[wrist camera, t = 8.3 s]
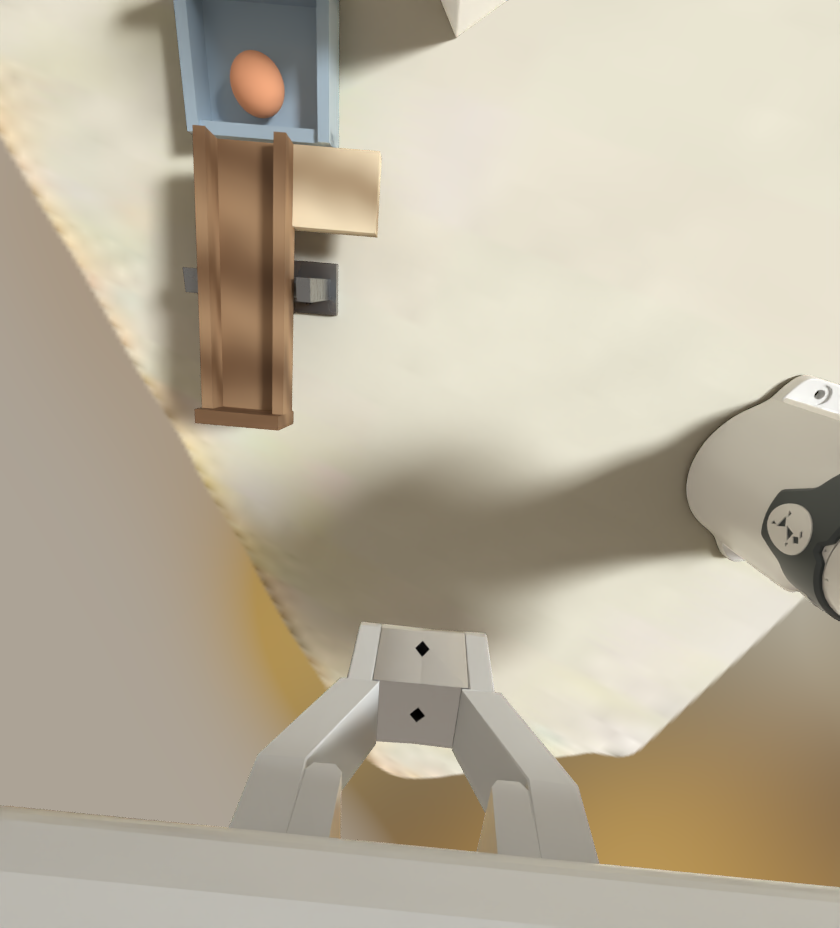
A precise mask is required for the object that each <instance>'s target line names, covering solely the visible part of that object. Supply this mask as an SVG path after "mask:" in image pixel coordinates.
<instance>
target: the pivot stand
mask: <svg viewBox="0 0 840 928" xmlns="http://www.w3.org/2000/svg"><path fill="white" fill-rule="evenodd" d="M183 273H184V281H185V289H186V292H194V293H198V275H197V268H186V267H183ZM294 283H296V297H297V298H295V297H294V303H293V312H302V313H314V314H325V315H338V264H331V263H319V262H308V261H296V260H294Z"/></svg>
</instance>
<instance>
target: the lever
mask: <svg viewBox="0 0 840 928" xmlns="http://www.w3.org/2000/svg"><path fill="white" fill-rule="evenodd" d="M192 128H193V158H194V187H195V216H196V246H197V275H198V304H199V333H200V363H201V392H202V408H197V409H195V423H201V424H213V425H224V426H235V427H246V428H257V429H268V430H280V429H282V428H285V427H287V426H289V425H291V424H293V411H292V369H293V303H294V297H295V298H297V297H296V283H294V238H295V230H296V231H308V232H320V233H331V234H343V235H355V236H367V237H377V231H378V213H379V195H380V178H381V160H382V158H381V154H380V151H370V150H358V149H346V148H334V147H322V146H310V145H298V144H293V143H292V141H291V139H290V138H289V136H288V135H287V133H285V132H273V143H265V142H253V141H241V140H229V139H217V138H216V137H215V136H214V135H213V134H212V133H211V132H210V131H209V130H208V129H207V128H206V127H205V126H201V125H192Z"/></svg>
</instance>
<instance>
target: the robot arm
mask: <svg viewBox="0 0 840 928" xmlns="http://www.w3.org/2000/svg"><path fill="white" fill-rule="evenodd" d="M817 391H818V394H817V395H816V396H815V397H814V395H815V393H816V392H817ZM686 492H687V499H688V503H689V506H690V509H691V511H692V513H693V515H694V516H695V517H696V519H697V520H698V521H699V522H700V523H701V524H702V525H703V526H704V527H705V528H707V529H708V530H709V531H710V532H711V533H712V534H713V535H714V536H715V539H716V543H717V545H718V548H719V550H720V552H721V553H722V554H723V555H724V556H725V557H727V558H728V559H729V560H731V561H746V562H747V563H749V564H750V565H751V566H753V567H754V568H755V569H757V570H758V571H759V572H761V573H762V574H764V575H765V576H766V577H768V578H769V579H770V580H772V581H773V582H774V583H776V584H777V585H779V586H780V587H781V588H783V589H784V590H787V591H789V592H796V591H798V592H800V593H801V594H802V595H804V596H805V598H806V599H807V600H809V601H810V602H811V603H812V604H814V605H815V606H817V607H818V608H819V609H821V610H822V611H825V612H826V613H828V614H829V615H830V616H832V617H833V618H834V619H836V620H838V621H840V384H837V383H834V382H830V381H827V380H824V379H821V378H817V377H814V376H811V375H801V376H798V377H796V378H795V379H793V380H791V381H790V382H789V383H787V384H786V385H785V386H784V387H783V388H781V389H780V390H779V391H778V392H777V393H776V394H775V395H774V396H772V397H771V398H770V399H768V400H767V401H765V402H763V403H761V404H759V405H757V406H754V407H752V408H750V409H748V410H745V411H743V412H742V413H740V414H738V415H736V416H734V417H733V418H731V419H730V420H728V421H727V422H726V423H724V424H723V425H722V426H720V427H719V428H718V429H717V430H716V431H715V432H714V433H713V434H712V435H711V436H710V437H709V438H708V439H707V440H706V441H705V443H704V444H703V445H702V447H701V448H700V450H699V451H698V453H697V454H696V456H695V458H694V460H693V462H692V465H691V467H690V470H689V473H688V478H687V486H686ZM376 741H382V742H398V743H413V744H421V745H429V746H437V747H445V748H452V751H453V753H454V755H455V757H456V759H457V761H458V763H459V764H460V766H461V768H462V770H463V772H464V774H465V776H466V778H467V780H468V781H469V783H470V785H471V787H472V789H473V791H474V793H475V795H476V796H477V798H478V800H479V802H480V804H481V806H482V808H483V810H484V812H485V813H486V814H485V819H484V823H483V827H482V831H481V835H480V840H479V844H478V849H477V852H473V851H462V850H451V849H441V848H431V847H422V846H411V845H401V844H391V843H381V842H370V841H359V840H350V839H341V791H342V789H343V788H344V787H345V786H346V784H347V783H348V782H349V780H350V779H351V777H352V776H353V775H354V773H355V772H356V770H357V769H358V768H359V766H360V765H361V764H362V762H363V760H364V759H365V758H366V757H367V755H368V754H369V753H370V751H371V750H372V748H373V747H374V746H375V744H376ZM0 928H840V887H829V886H820V885H810V884H800V883H790V882H779V881H769V880H759V879H749V878H738V877H728V876H718V875H708V874H698V873H688V872H677V871H667V870H657V869H646V868H637V867H626V866H616V865H606V864H599V861H598V857H597V853H596V850H595V846H594V842H593V839H592V835H591V832H590V828H589V824H588V820H587V817H586V813H585V810H584V806H583V802H582V799H581V795H580V791H579V788H578V785H577V784H576V783H575V782H574V781H573V779H572V778H571V777H570V776H569V774H568V773H567V772H566V771H565V770H564V768H563V767H562V766H561V765H560V764H559V762H558V761H557V760H556V759H555V758H554V756H553V755H552V754H551V753H550V751H549V750H548V749H547V748H546V747H545V745H544V744H543V743H542V742H541V741H540V739H539V738H538V737H537V736H536V734H535V733H534V732H533V731H532V730H531V728H530V727H529V726H528V725H527V724H526V722H525V721H524V720H523V719H522V718H521V716H520V715H519V714H518V713H517V711H516V710H515V709H514V708H513V707H512V705H511V704H510V703H509V702H508V701H507V699H506V698H505V697H504V696H503V694H502V693H499V692H494V684H493V677H492V670H491V662H490V655H489V648H488V641H487V636H486V634H485V633H479V632H466V631H464V632H463V631H452V630H440V629H428V628H417V627H408V626H400V625H391V624H383V625H382V624H378V623H370V622H361V624H360V626H359V630H358V634H357V638H356V642H355V647H354V651H353V655H352V659H351V663H350V668H349V672H348V676H347V678H340V679H339V680H337V681H336V682H335V683H334V684H333V685H332V686H331V687H330V688H329V689H328V690H327V691H326V692H324V693H323V694H322V695H321V696H320V697H319V698H318V699H317V700H316V701H315V702H314V703H313V704H311V705H310V706H309V707H308V708H307V709H306V710H305V711H304V712H303V713H302V714H301V715H300V716H299V717H297V718H296V720H294V721H293V722H292V723H291V724H290V725H289V726H288V727H287V728H286V729H284V730H283V731H282V732H281V733H280V734H279V735H278V736H277V737H276V738H275V739H274V740H272V741H271V742H270V743H269V744H268V745H267V746H266V747H265V748H264V749H263V750H262V751H261V752H259V753H258V754H257V757H256V760H255V762H254V765H253V767H252V770H251V772H250V775H249V777H248V780H247V782H246V785H245V787H244V790H243V792H242V795H241V798H240V800H239V802H238V805H237V808H236V810H235V813H234V815H233V818H232V820H231V823H230V825H229V828H227V827H217V826H207V825H196V824H187V823H177V822H166V821H156V820H145V819H136V818H126V817H116V816H106V815H94V814H85V813H75V812H65V811H55V810H45V809H35V808H25V807H14V806H4V805H0Z"/></svg>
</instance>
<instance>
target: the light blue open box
mask: <svg viewBox="0 0 840 928" xmlns="http://www.w3.org/2000/svg"><path fill="white" fill-rule="evenodd" d="M173 2H174V11H175V20H176V30H177V39H178V48H179V58H180V67H181V76H182V86H183V95H184V104H185V114H186V123H187V131H188V132H190V133H191V134H193V128H192V125H201V126H205V127H206V128H207V129H208V130H209V131H210V132H211V133H212V134H213V135H214V136H215V137H216V138H217V139H229V140H241V141H253V142H265V143H273V132H285V133H287V135H288V136H289V138H290V139H291V141H292V143H293V144H298V145H310V146H322V147H334V148H339V0H173ZM246 50H256V51H259V52H261V53H263V54H265V55H266V56H268V57H269V58H270V59H271V60H272V61H273V62H274V63H275V65H276V66H277V68H278V69H279V71H280V73H281V76H282V79H283V82H284V89H285V96H284V102H283V105H282V107H281V109H280V110H279V111H278V113H277V114H275V115H274V116H272V117H269V118H257V117H254V116H252V115H251V114H249V113H248V112H246V111H245V110H244V109H243V108H242V107H241V106H240V104H239V103H238V102H237V100H236V98H235V96H234V94H233V91H232V88H231V84H230V69H231V65H232V63H233V60H234V59H235V57H236V56H237V55H238V54H240V53H241V52H243V51H246Z"/></svg>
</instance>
